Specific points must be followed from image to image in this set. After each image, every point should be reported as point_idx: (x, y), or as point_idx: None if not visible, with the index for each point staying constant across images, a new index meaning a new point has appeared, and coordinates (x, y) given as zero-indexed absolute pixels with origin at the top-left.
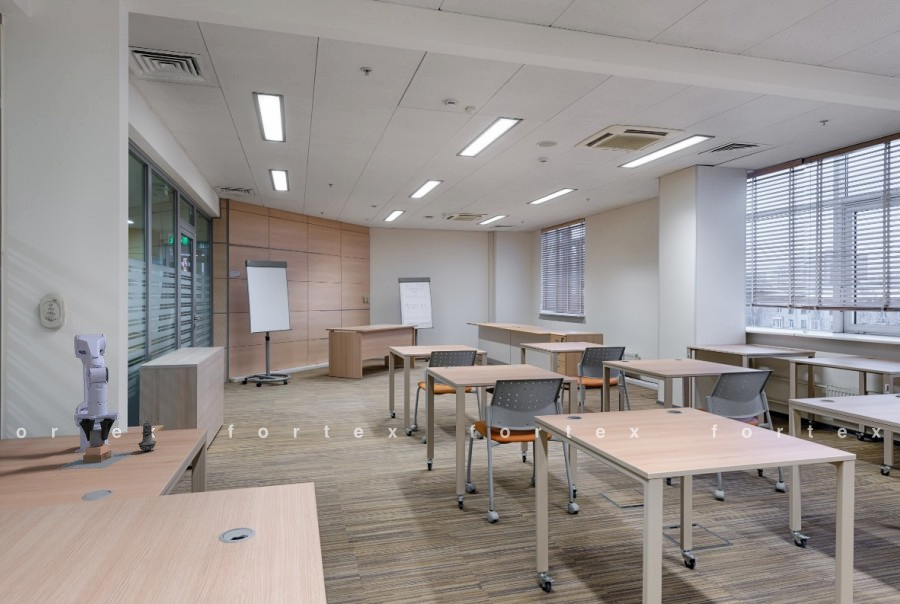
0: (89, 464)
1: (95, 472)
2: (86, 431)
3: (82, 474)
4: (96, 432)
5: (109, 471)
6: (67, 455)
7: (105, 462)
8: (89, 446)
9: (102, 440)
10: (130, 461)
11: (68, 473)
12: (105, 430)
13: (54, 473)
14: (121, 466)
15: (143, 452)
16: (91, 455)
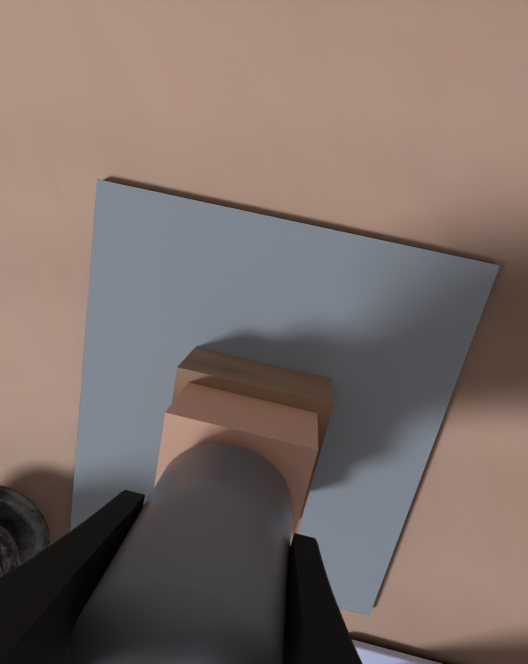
0: (263, 314)
1: (140, 88)
2: (321, 648)
3: (224, 49)
4: (147, 568)
5: (40, 88)
6: (518, 633)
7: (162, 335)
8: (299, 497)
9: (139, 495)
10: (11, 339)
11: (356, 119)
12: (2, 579)
13: (478, 153)
14: (13, 218)
15: (4, 507)
16: (260, 385)
